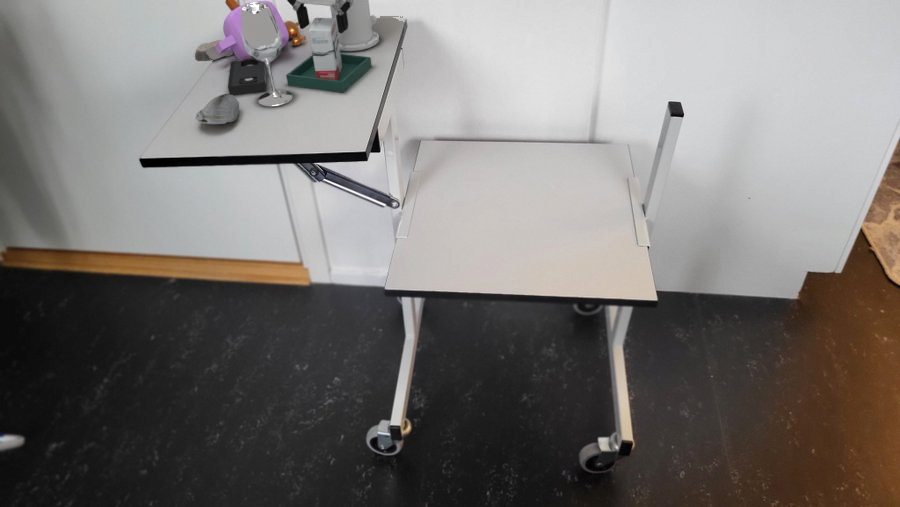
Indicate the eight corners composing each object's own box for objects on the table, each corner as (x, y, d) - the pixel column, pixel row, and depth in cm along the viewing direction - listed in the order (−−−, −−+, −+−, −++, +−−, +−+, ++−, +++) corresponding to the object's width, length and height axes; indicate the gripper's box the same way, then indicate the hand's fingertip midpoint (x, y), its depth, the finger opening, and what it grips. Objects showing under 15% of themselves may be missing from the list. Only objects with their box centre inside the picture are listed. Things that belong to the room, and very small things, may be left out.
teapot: (213, 11, 148) (197, 29, 158) (242, 63, 151) (224, 78, 161) (286, -15, 158) (266, 4, 169) (311, 35, 162) (291, 51, 172)
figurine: (284, 54, 167) (320, 35, 171) (279, 41, 164) (315, 22, 168) (262, 43, 174) (297, 25, 178) (257, 31, 172) (292, 12, 176)
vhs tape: (266, 90, 148) (264, 82, 147) (230, 95, 147) (227, 86, 146) (266, 65, 159) (264, 57, 158) (233, 69, 158) (230, 61, 157)
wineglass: (289, 106, 142) (269, 12, 129) (253, 107, 142) (230, 14, 130) (296, 90, 148) (278, -1, 135) (262, 91, 148) (240, 0, 136)
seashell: (214, 107, 143) (208, 85, 140) (250, 108, 142) (245, 86, 139) (190, 134, 134) (183, 111, 131) (229, 135, 133) (222, 112, 130)
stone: (201, 65, 162) (197, 51, 160) (193, 60, 165) (189, 46, 162) (245, 50, 167) (242, 37, 165) (237, 46, 170) (233, 32, 168)
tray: (318, 61, 161) (317, 51, 159) (371, 67, 156) (370, 57, 155) (288, 85, 150) (285, 75, 149) (343, 92, 146) (341, 82, 145)
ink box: (338, 81, 150) (330, 30, 142) (316, 82, 150) (307, 30, 142) (343, 66, 156) (335, 16, 149) (322, 67, 156) (314, 16, 149)
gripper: (355, -56, 136) (366, 26, 147) (283, -61, 141) (298, 18, 152) (338, -45, 131) (351, 39, 142) (263, -50, 136) (281, 31, 147)
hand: (324, 28), depth 147 cm, fingers open, 9 cm apart
